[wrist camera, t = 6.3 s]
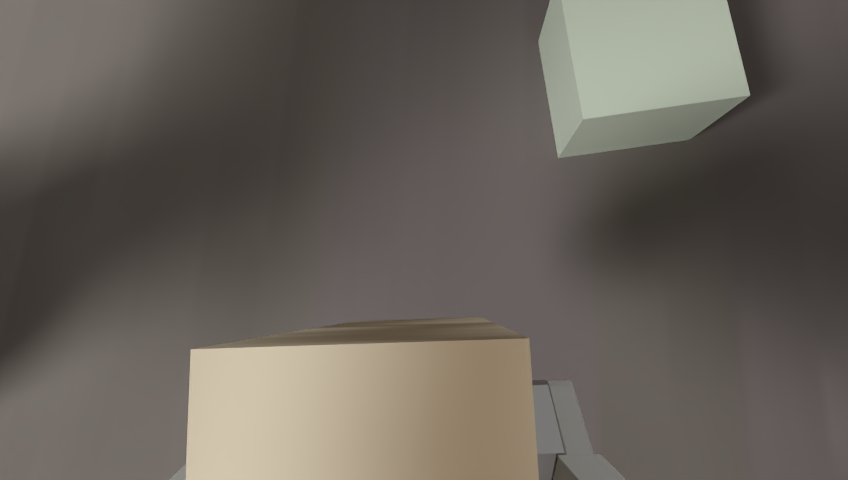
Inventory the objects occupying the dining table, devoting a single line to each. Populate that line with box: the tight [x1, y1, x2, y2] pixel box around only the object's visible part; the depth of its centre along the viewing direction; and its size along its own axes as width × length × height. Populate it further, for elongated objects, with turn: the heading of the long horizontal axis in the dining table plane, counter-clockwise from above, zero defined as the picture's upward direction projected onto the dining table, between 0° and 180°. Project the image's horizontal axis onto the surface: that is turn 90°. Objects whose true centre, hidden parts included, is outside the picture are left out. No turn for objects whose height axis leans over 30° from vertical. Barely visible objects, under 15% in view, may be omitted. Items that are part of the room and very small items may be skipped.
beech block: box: [186, 317, 539, 480], centre depth 10 cm, size 4×4×10 cm
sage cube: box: [538, 0, 750, 158], centre depth 25 cm, size 8×8×6 cm
